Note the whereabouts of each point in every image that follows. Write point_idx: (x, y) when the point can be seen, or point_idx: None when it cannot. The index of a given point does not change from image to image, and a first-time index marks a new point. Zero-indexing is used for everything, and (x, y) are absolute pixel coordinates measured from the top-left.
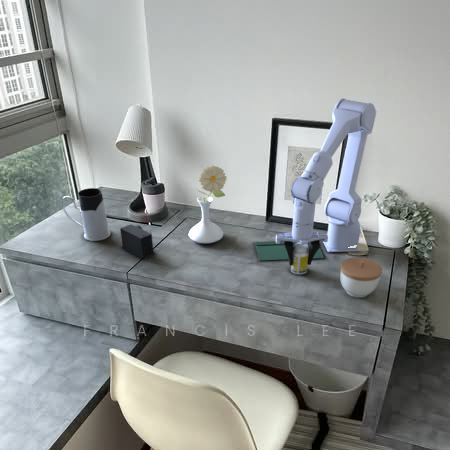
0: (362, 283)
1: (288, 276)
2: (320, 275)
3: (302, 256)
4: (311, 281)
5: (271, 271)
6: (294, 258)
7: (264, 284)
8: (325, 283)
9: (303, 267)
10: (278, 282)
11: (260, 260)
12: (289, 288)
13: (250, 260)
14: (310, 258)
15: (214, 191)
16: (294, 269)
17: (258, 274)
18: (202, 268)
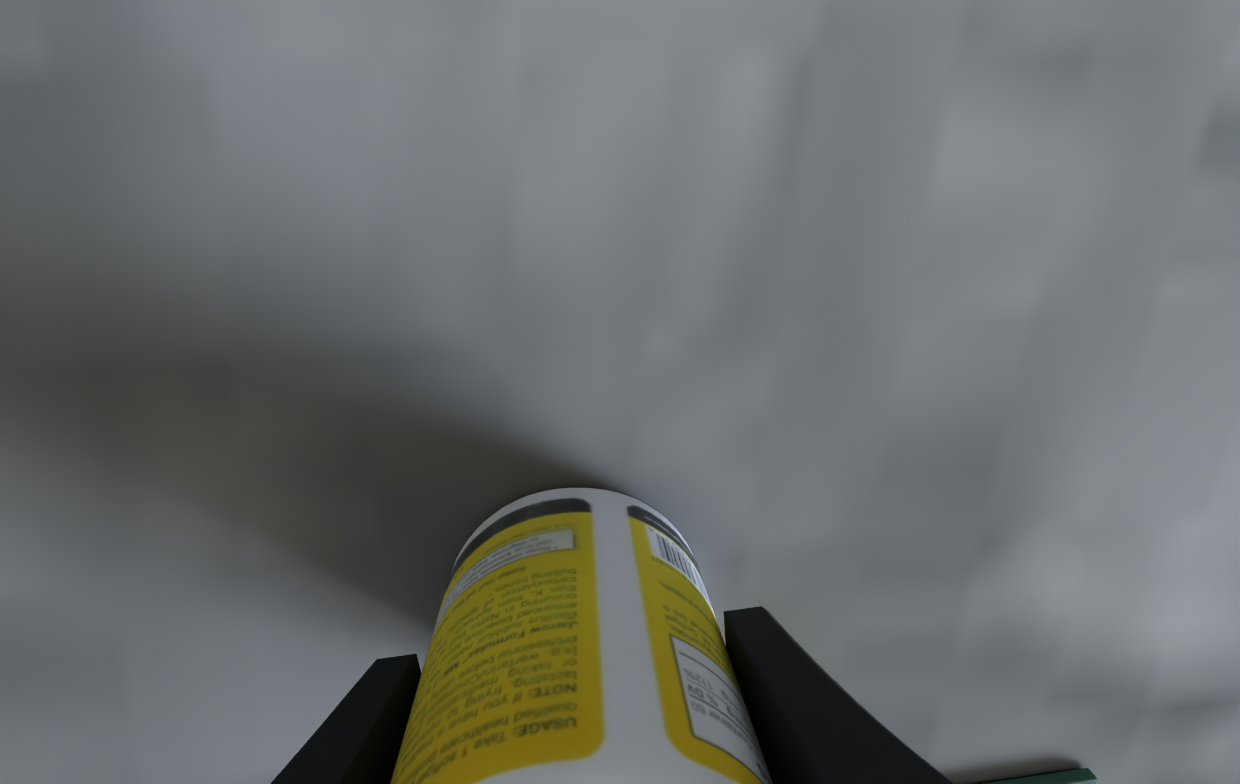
0: None
1: (754, 427)
2: (228, 488)
3: (541, 779)
4: (377, 294)
5: (984, 544)
6: (735, 732)
7: (1186, 162)
8: (113, 237)
9: (510, 566)
10: (944, 237)
11: (1077, 775)
12: (788, 32)
13: (1189, 767)
14: (327, 772)
15: None
16: (669, 548)
17: (1190, 454)
18: None
